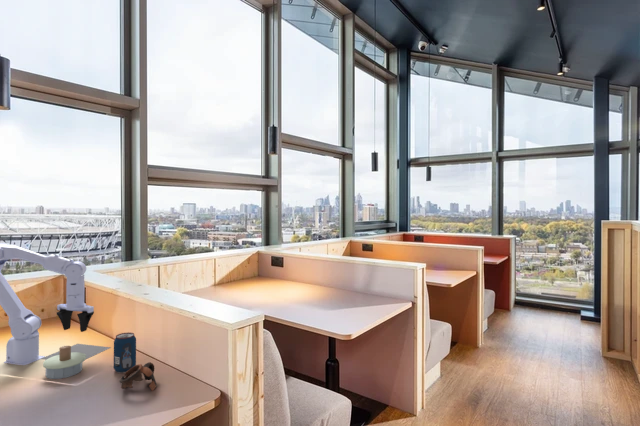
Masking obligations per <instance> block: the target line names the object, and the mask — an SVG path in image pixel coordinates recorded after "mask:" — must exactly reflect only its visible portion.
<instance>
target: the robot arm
mask: <svg viewBox="0 0 640 426" xmlns="http://www.w3.org/2000/svg"><path fill="white" fill-rule="evenodd" d="M13 259H19V260H23V261H25V262H31V263H34V264H39V265H42V267H43V269H44V270H45V271H50V272H53V273H57V274H60V275H64V276H65V278H66V284H65V285H66V286H65V287H66V291H65V292H66V293H65V295H66V299H65V301H66V303H60V304H57V305H56V306H57V312H56V315H57V316H58V319H59V320H60V323H61V324H62V325H61V326H62V329H63V331H66V330H70V329H71V325H72V324H71V323H72V321H71V320H72V315H73V312H80V313H77V315H76V316H77V318H78V321H79V330H80V331H79V332H81V333H83V332H86V331H87V330H88V327H89V325H90V324H89V323H90V321H91V319H92V317H93V316H94V314H95V310H94V308H95V306H93V305H92V306H91V305H88V304H87V303H85V285H86V283H85V273H86V271H87V266H86V264H85V263H84V262H83V261H81V260H74V259H72V258H70V259H69V258H65V257H62V256H61V254H58V253H56V254H53V253H52V254H49V255H45V254H41V253H38V252H35V251H32V250H30V249H26V248H24V247H21V246H18V245H16V244H9V243H7V242H0V306H1V308H2V310H3V311H4V312H5V313H6V315H7V316H8V326H9V328H10V333H11V336H12V337H10V338H9V339H8V341H7V342H6V349H5V350H6V355H5V356H6V359H5V360H6V361H4V362H3V363H4V364H11V365H19V366H27V365H29V364H32V363H35V362H37V361H39V360H42V359H41V358H44V357H46V356H45V355H40V333H39V329H40V328H41V326H42V319H41V317H40V316H38V315H36V314H34V312H33V311H32V310H30V309H29V308H27V307H25V305H24V304H23V302H22V301H21V299H20V298H19V297H18V295H17V293H16V292H15V291H14V289H13V288H12V286H11V285H10V283H9V281H8V280H7V279H6V278H5V276H4V275H3V273H2V270H3V268H4V265H5V263H7V261H8V260H13Z"/></svg>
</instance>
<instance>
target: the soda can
mask: <svg viewBox="0 0 640 426" xmlns="http://www.w3.org/2000/svg"><path fill="white" fill-rule="evenodd" d="M135 365H137V338H136V336H135V333H134V332H121V333H118V334H117V335H115V339H114V340H113V370H114V371H115V372H116V373H118V374H125V373H126V372H127V371H128V370H129V369H131V368H132V367H134V366H135Z"/></svg>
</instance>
